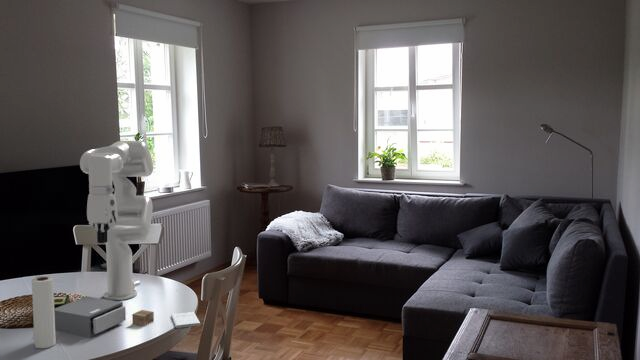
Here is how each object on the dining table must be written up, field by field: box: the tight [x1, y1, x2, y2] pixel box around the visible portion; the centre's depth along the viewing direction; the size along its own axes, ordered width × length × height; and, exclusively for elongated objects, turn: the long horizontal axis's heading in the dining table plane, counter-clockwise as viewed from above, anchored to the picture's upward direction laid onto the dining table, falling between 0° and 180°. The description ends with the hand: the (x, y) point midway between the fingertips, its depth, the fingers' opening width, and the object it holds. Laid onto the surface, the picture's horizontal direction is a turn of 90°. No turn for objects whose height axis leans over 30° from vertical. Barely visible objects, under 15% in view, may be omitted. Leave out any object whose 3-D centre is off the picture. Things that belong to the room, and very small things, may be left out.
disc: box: [90, 313, 104, 325], centre depth 201 cm, size 7×7×2 cm
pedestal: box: [131, 309, 155, 327], centre depth 205 cm, size 5×5×4 cm
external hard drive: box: [170, 311, 201, 329], centre depth 208 cm, size 2×8×12 cm
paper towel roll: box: [31, 275, 57, 349], centre depth 184 cm, size 7×6×21 cm
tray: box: [91, 305, 127, 335], centre depth 201 cm, size 14×17×5 cm
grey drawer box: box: [54, 296, 124, 338], centre depth 201 cm, size 16×16×7 cm
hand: (102, 242), depth 207 cm, fingers closed
